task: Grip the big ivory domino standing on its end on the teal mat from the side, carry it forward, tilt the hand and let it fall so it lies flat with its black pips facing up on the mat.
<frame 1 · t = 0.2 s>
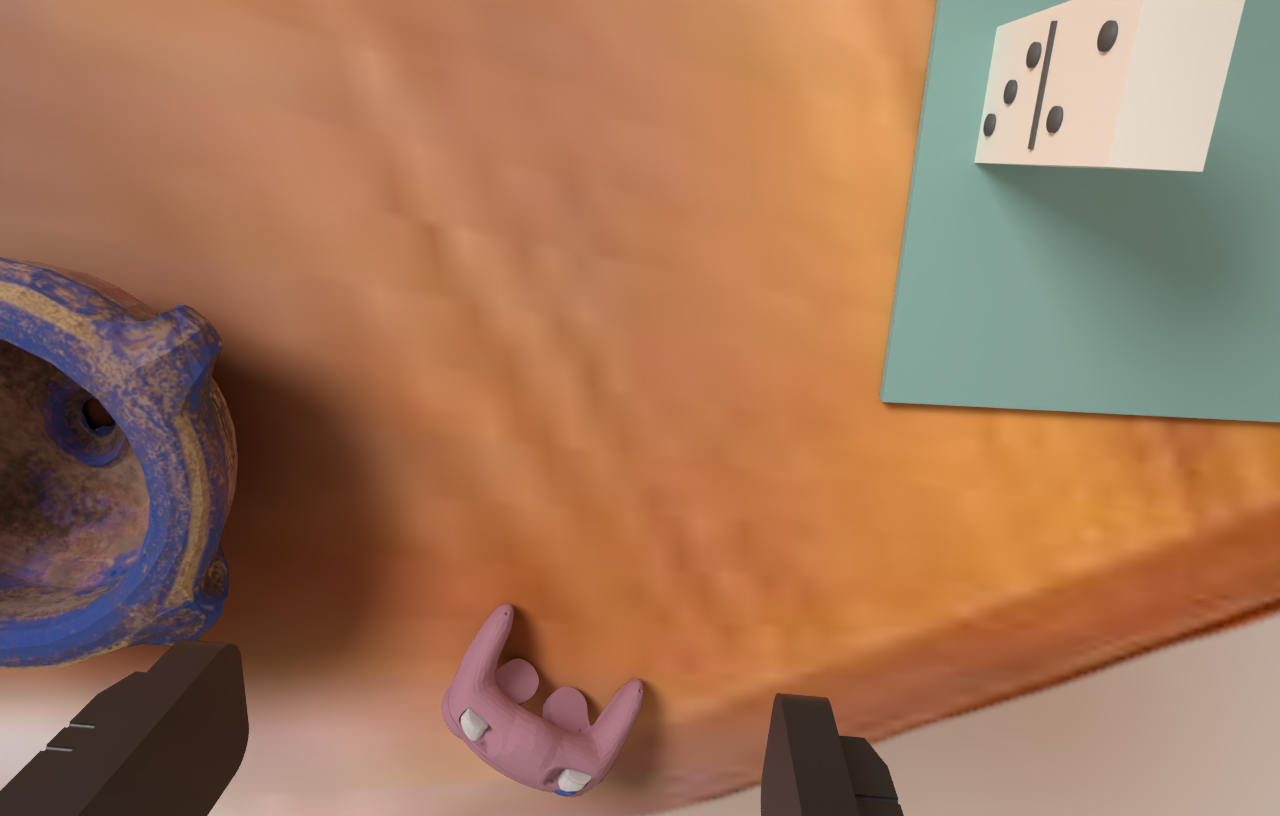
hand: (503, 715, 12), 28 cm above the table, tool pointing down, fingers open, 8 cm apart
mat: (1166, 131, 36), on the table
bowl: (119, 415, 41), on the table
domino: (1019, 98, 35), point 1 cm above the table, touching mat
video game controller: (550, 671, 45), on the table
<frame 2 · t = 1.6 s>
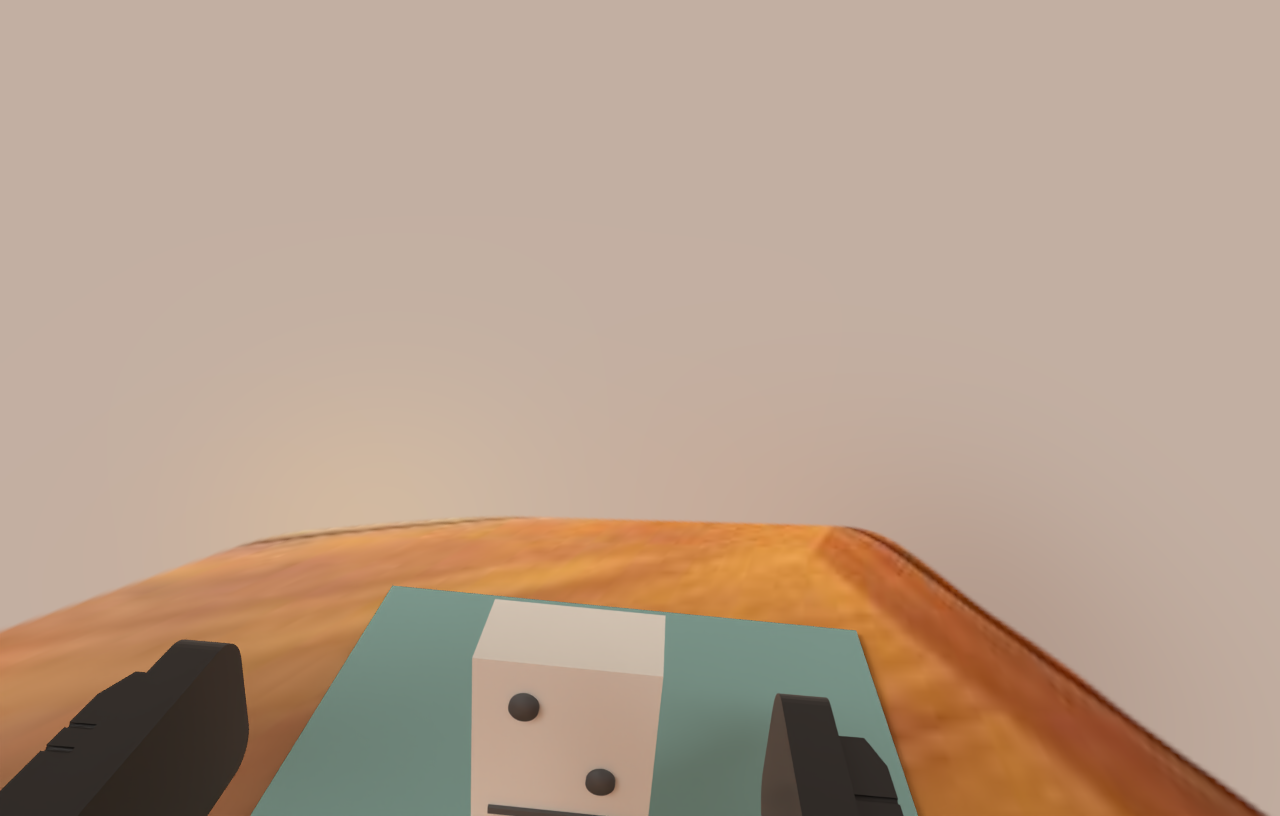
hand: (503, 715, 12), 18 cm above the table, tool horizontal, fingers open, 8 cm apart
mat: (604, 765, 35), on the table
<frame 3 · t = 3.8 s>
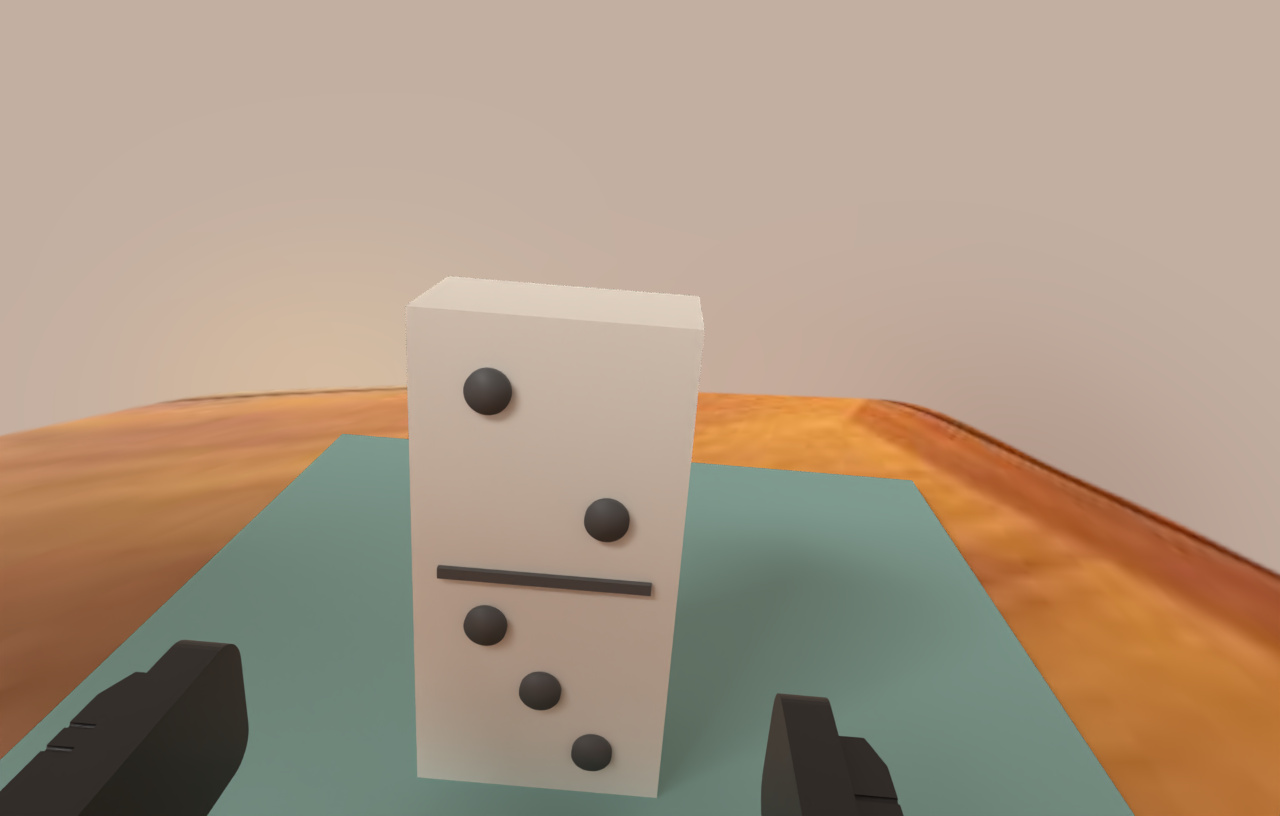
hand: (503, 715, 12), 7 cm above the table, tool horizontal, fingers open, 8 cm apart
mat: (607, 604, 27), on the table
domino: (546, 740, 20), point 1 cm above the table, touching mat
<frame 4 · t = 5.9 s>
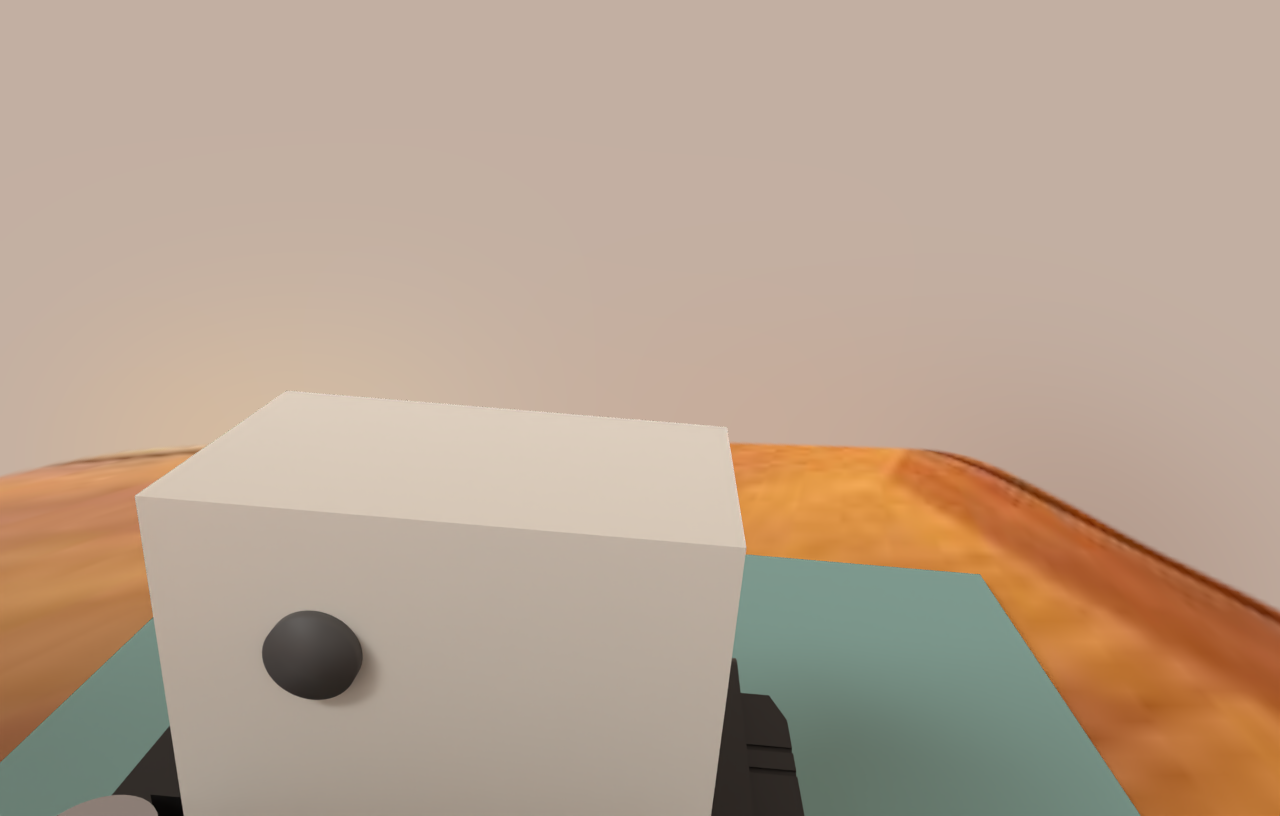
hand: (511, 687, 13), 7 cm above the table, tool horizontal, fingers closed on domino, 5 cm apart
mat: (585, 796, 19), on the table
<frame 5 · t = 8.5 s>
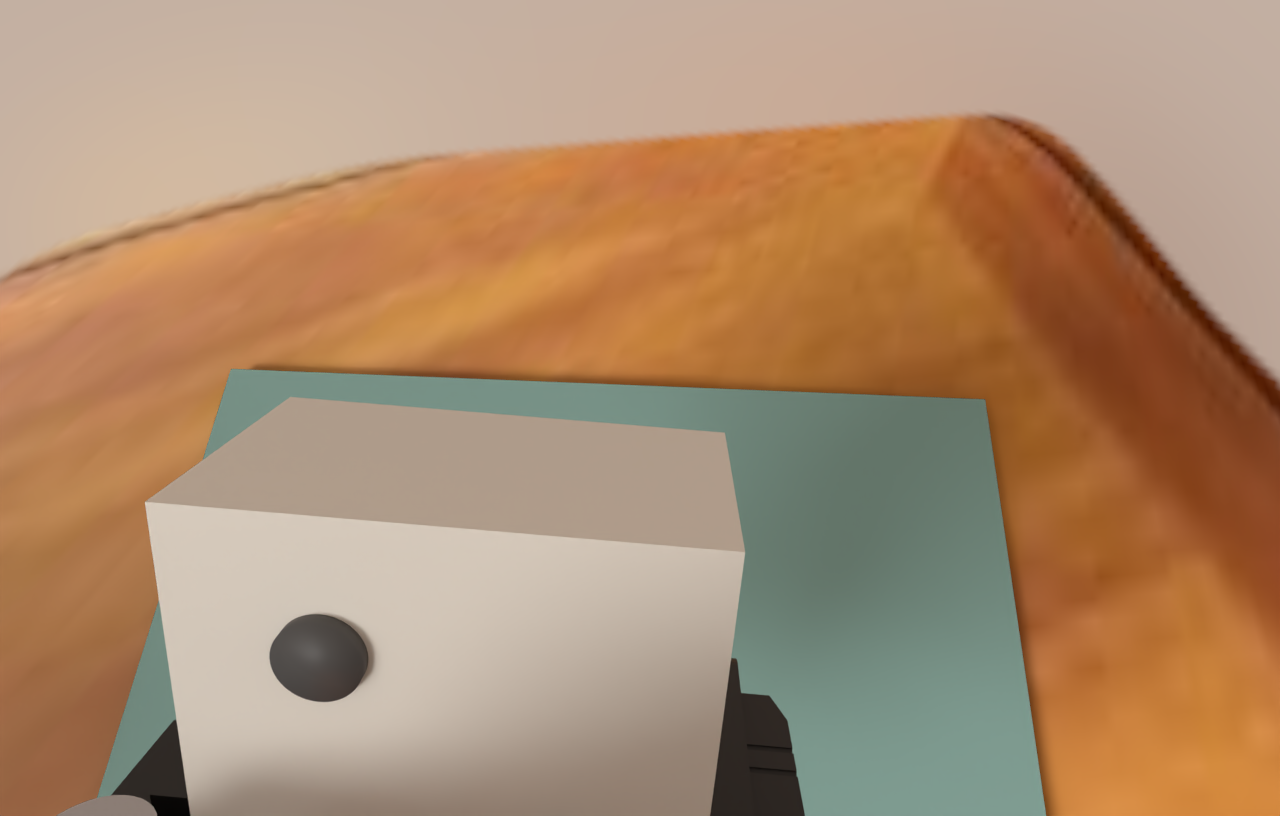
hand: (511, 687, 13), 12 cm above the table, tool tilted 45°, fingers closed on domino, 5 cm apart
mat: (574, 727, 24), on the table
when the fingers open (5 cm above the table, at t = 10.9 s): domino moves 1 cm and tips over, resting on mat.
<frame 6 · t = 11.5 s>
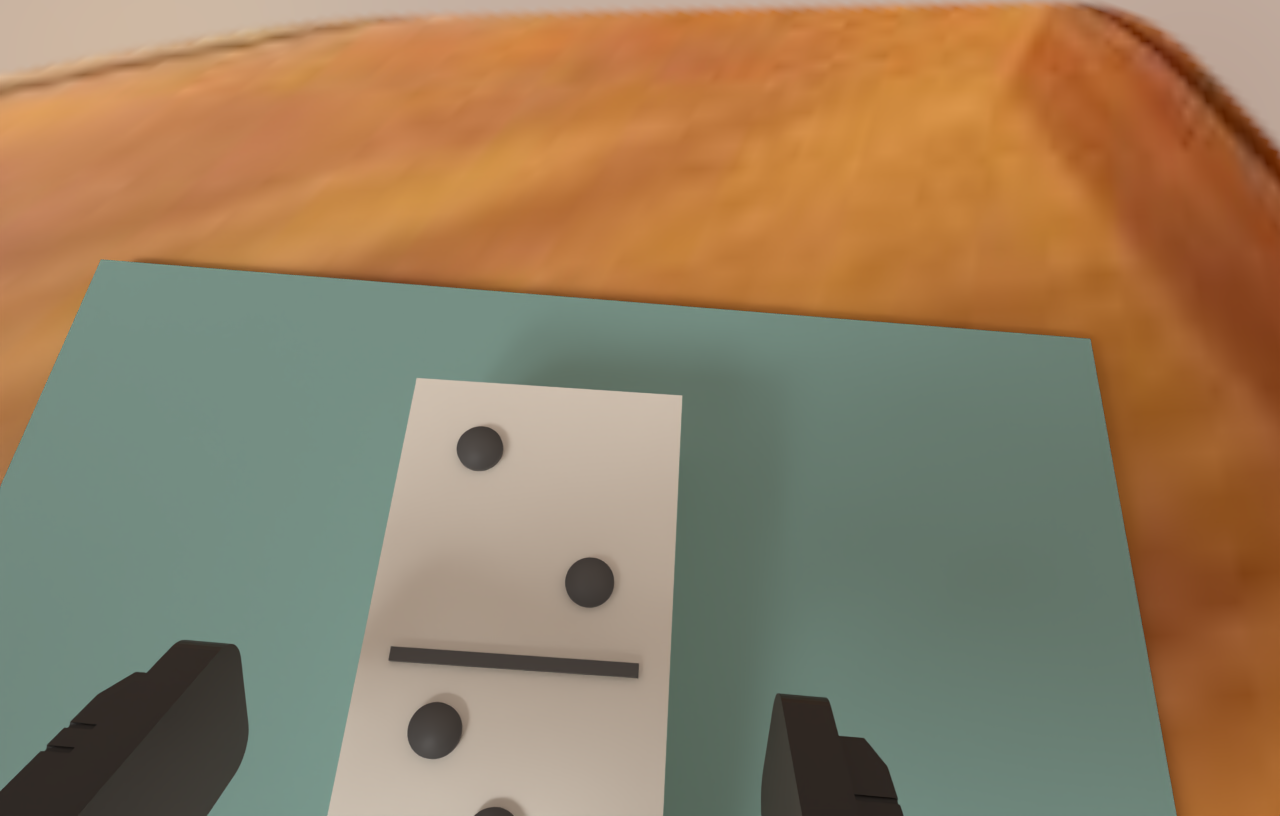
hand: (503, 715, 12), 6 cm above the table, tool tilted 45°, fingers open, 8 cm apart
mat: (536, 755, 17), on the table
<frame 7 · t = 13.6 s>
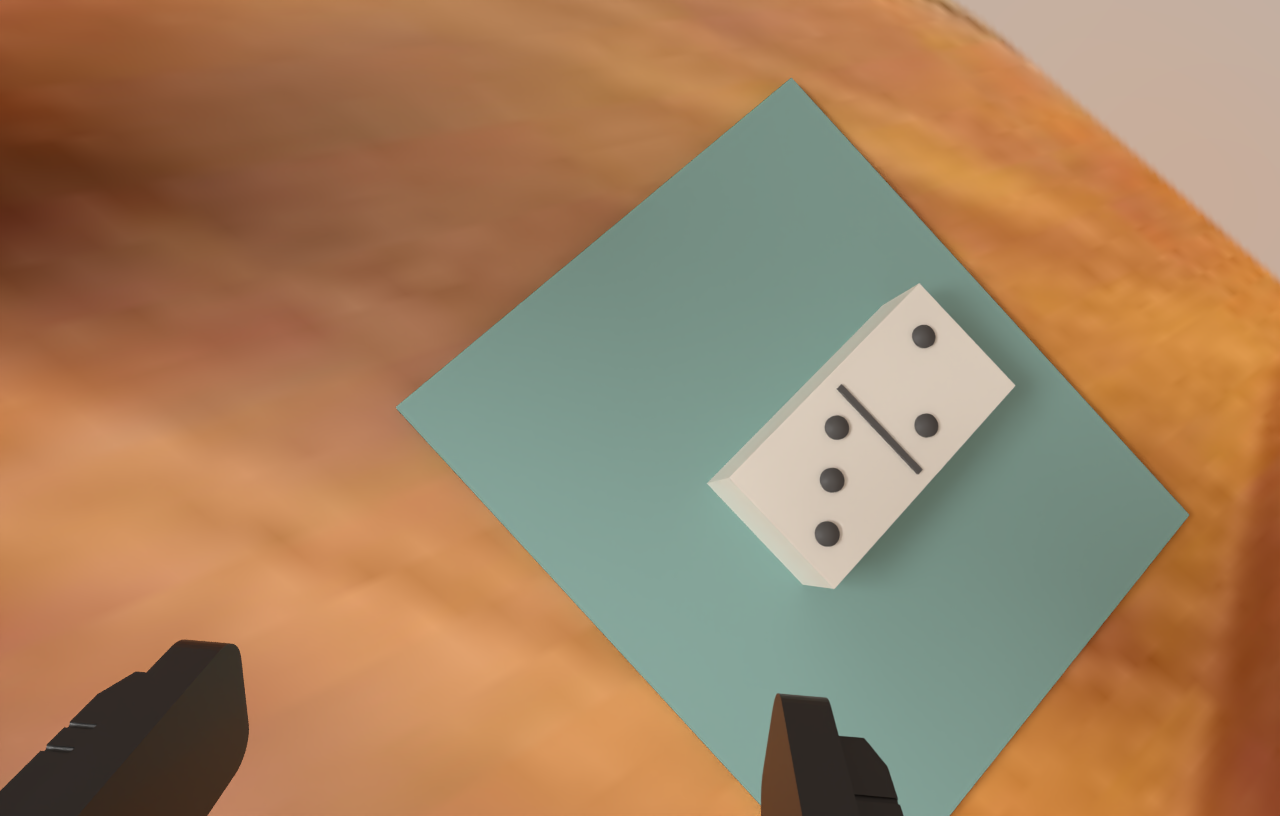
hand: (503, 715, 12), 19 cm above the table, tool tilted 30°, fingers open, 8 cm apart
mat: (820, 466, 33), on the table
domino: (767, 533, 30), point 2 cm above the table, tilted 90°, touching mat
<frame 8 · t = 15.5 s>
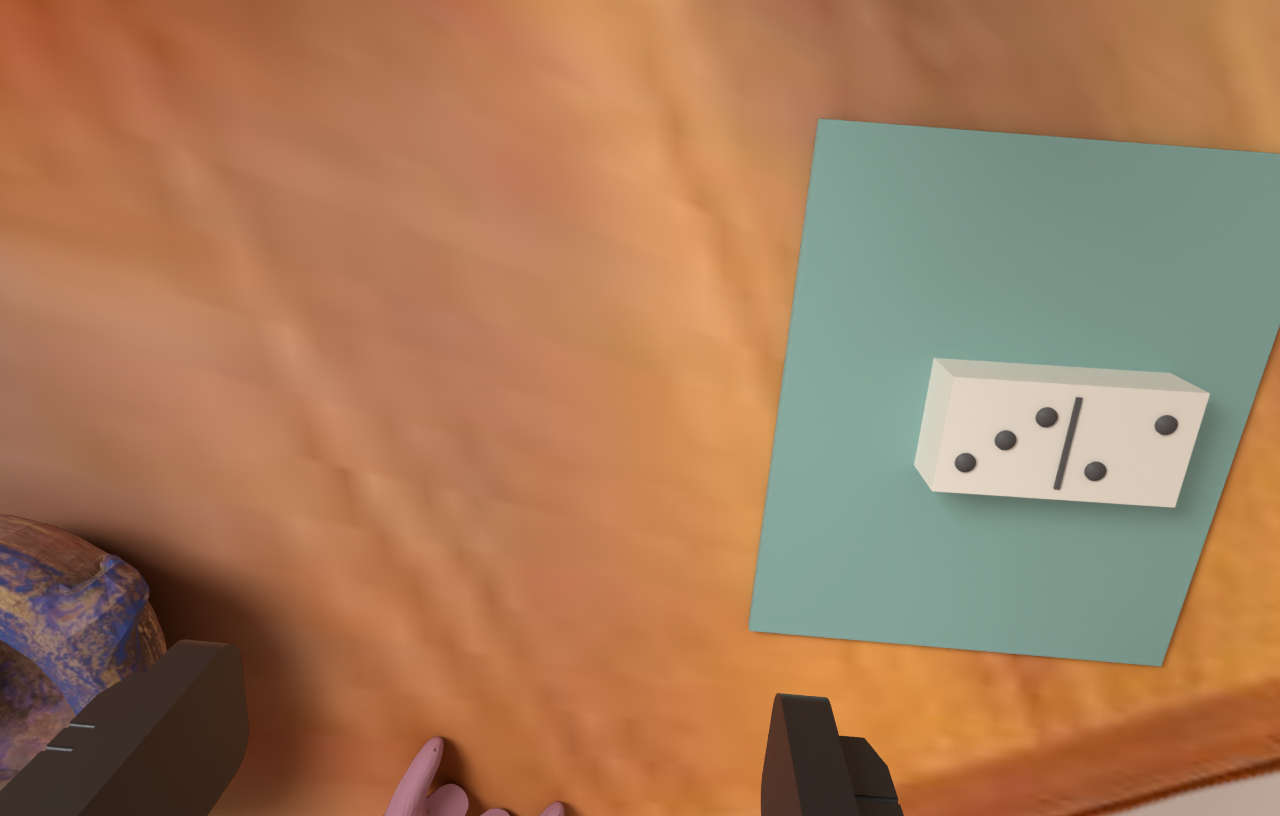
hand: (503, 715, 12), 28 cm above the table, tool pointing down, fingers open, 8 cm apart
mat: (1004, 417, 40), on the table
bowl: (73, 608, 46), on the table
domino: (932, 423, 38), point 2 cm above the table, tilted 90°, touching mat
video game controller: (481, 792, 49), on the table
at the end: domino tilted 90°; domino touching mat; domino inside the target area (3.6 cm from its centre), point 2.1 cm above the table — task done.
